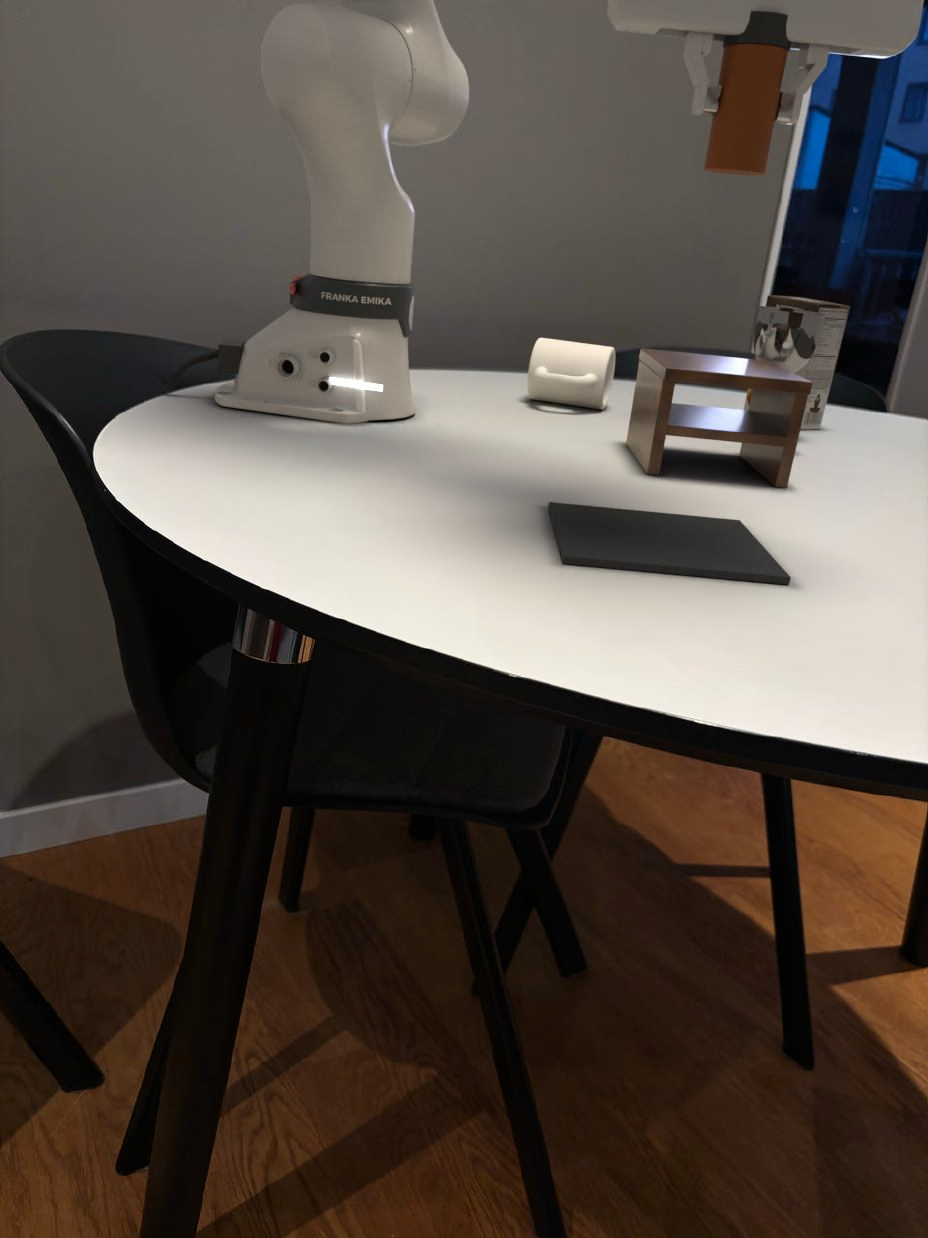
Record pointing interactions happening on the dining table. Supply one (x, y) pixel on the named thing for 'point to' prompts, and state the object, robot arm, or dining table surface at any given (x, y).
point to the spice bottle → (748, 96)
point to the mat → (662, 543)
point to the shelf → (718, 409)
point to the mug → (571, 373)
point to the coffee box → (816, 353)
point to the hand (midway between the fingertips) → (743, 118)
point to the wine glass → (786, 336)
